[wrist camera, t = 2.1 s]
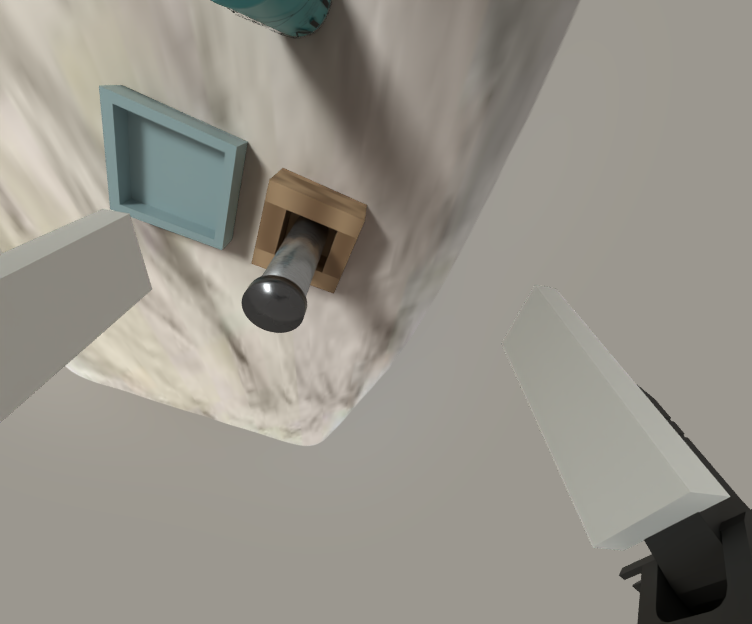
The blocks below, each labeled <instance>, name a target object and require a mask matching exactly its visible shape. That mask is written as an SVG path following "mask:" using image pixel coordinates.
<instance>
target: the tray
mask: <svg viewBox="0 0 752 624" xmlns="http://www.w3.org/2000/svg"><path fill="white" fill-rule="evenodd" d="M99 92H100V103H101V113H102V124H103V135H104V146H105V157H106V168H107V179H108V190H109V201H110V209H111V210H114V211H117V212H123V213H129V214H130V217H133V218H136V219H138V220H141V221H144V222H146V223H149V224H152V225H155V226H157V227H160V228H163V229H166V230H168V231H171V232H174V233H177V234H179V235H182V236H185V237H188V238H190V239H193V240H196V241H198V242H201V243H204V244H207V245H209V246H212V247H215V248H218V249H220V250H223V249H224V248H225V247H226V245H227V244H228V243H229V242H230V241H231V240H232V237H233V230H234V224H235V218H236V212H237V206H238V199H239V193H240V187H241V181H242V174H243V168H244V162H245V156H246V150H247V143H248V142H247V141H245V140H242V139H240V138H238V137H236V136H234V135H231V134H229V133H227V132H225V131H223V130H220V129H218V128H216V127H214V126H211V125H209V124H207V123H205V122H203V121H200V120H198V119H196V118H194V117H191V116H189V115H187V114H185V113H183V112H180V111H178V110H176V109H174V108H172V107H169V106H167V105H165V104H163V103H160V102H158V101H156V100H154V99H152V98H149V97H147V96H145V95H143V94H141V93H138V92H136V91H134V90H132V89H129V88H127V87H125V86H123V85H104V86H99Z"/></svg>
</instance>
